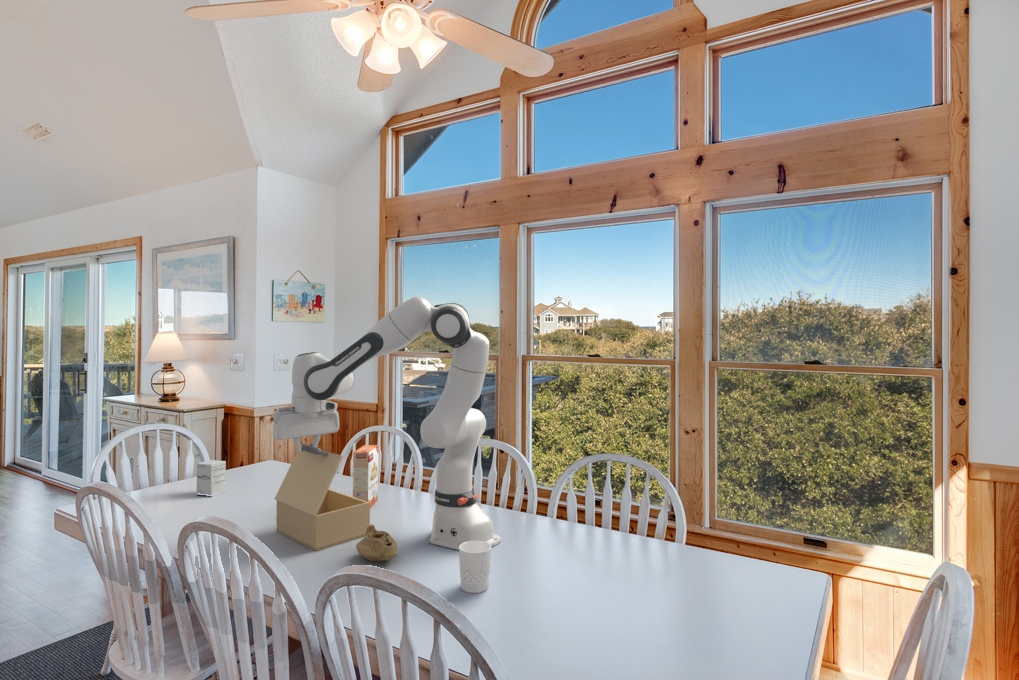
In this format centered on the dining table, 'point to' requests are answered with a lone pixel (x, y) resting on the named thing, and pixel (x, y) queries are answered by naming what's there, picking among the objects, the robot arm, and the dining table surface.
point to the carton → (325, 521)
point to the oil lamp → (377, 545)
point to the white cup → (474, 566)
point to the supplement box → (211, 477)
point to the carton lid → (308, 479)
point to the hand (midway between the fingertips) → (307, 450)
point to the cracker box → (366, 473)
